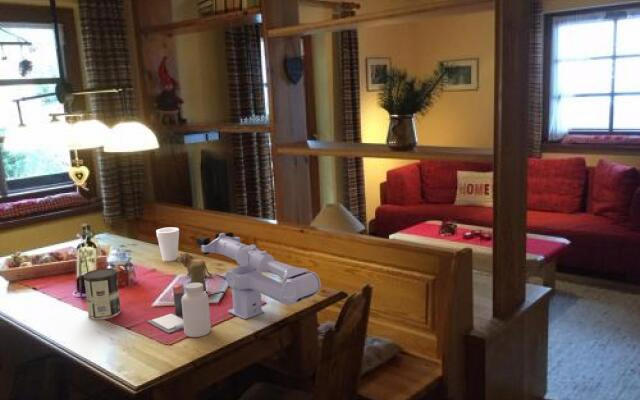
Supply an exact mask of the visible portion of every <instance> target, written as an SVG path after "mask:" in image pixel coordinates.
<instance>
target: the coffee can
mask: <svg viewBox="0 0 640 400" xmlns="http://www.w3.org/2000/svg"><path fill="white" fill-rule="evenodd" d="M83 279H84V280H83V281H84V287H85V297H86V305H87V312H88V313H87V314H88V315H87V317H88V318H89V319H91V320H97V321H99V320H107V319H112V318H114V317H116V316H118V315H119V314H120V313H121V311H122V310H121V309H122V308H121V304H120V302H121V301H120V295H119V293H120V292H119V284H118V283H119V282H118V270H116V269H114V268H107V267H106V268H99V269H94V270H89V271H88V272H86V273H84V274H83Z"/></svg>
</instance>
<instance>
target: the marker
mask: <svg viewBox="0 0 640 400" xmlns="http://www.w3.org/2000/svg"><path fill="white" fill-rule="evenodd" d="M184 288H185V286H184V284H183V283H177V284H174V285H173V286H172V293H173V304H174V314H176V315H178V316H183V312H182V301H181V300H182V296H183V295H184V294H185V289H184Z"/></svg>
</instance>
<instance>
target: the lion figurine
mask: <svg viewBox="0 0 640 400" xmlns="http://www.w3.org/2000/svg"><path fill="white" fill-rule="evenodd" d="M178 255H179V256H178V257H177V262H178V264H181V265H183V266H184V267H185V268H186V269H187V272H188V273H187V274H186V276H191V272H190V270H189V267H190V265H191V264H193V263H202V264H203V265H204V271H203V275H204V277H206V278H207V275H208V276H210V277H211V276H213V274H212V273H210V272H209V271H208V268H207V264H206V261H205V260H204V259H196V258H194V256H193V255H191V254H190V253H188V252H184V251H183V252H180V253H179V254H178ZM206 273H207V274H206Z"/></svg>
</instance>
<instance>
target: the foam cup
mask: <svg viewBox="0 0 640 400" xmlns="http://www.w3.org/2000/svg"><path fill="white" fill-rule="evenodd" d="M155 233H156V238H157V242H158V247H159V250H160V254H161V260H162V261H163V262H173V261H176V260H178V258H179V256H178V255H179V254H178V253H179V239H180V238H179V236H180V229H179V227H175V226H174V227H171V226H169V227H163V228H159V229H156V231H155Z"/></svg>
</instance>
